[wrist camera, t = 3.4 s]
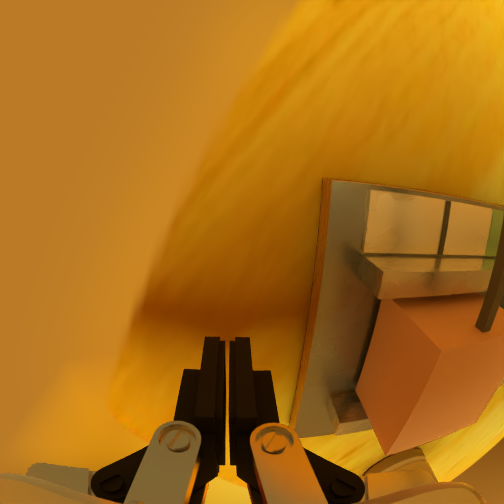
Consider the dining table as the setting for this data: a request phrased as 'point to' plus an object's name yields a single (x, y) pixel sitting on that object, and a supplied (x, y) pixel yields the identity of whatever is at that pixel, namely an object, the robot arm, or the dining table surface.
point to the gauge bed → (380, 283)
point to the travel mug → (403, 463)
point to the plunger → (433, 363)
